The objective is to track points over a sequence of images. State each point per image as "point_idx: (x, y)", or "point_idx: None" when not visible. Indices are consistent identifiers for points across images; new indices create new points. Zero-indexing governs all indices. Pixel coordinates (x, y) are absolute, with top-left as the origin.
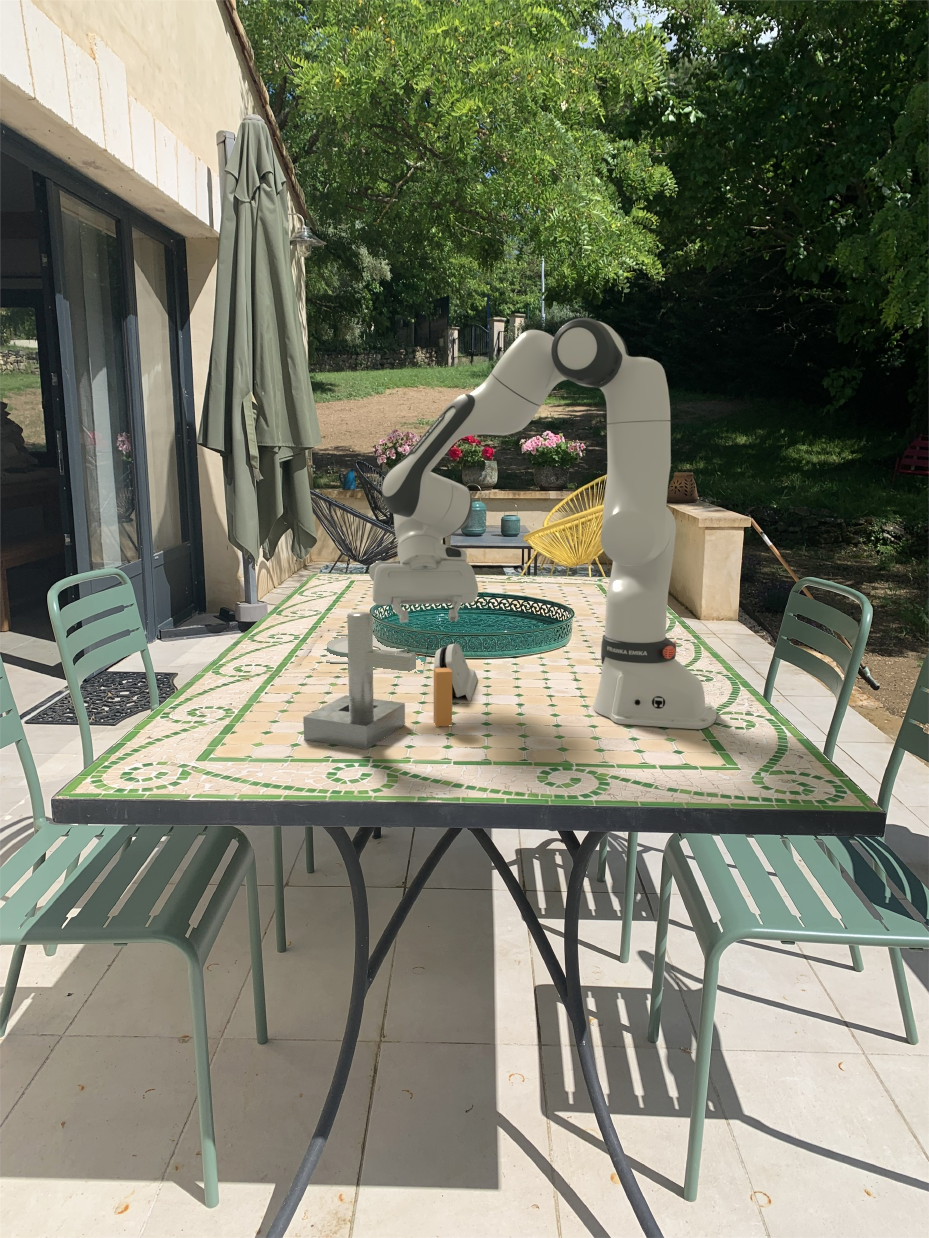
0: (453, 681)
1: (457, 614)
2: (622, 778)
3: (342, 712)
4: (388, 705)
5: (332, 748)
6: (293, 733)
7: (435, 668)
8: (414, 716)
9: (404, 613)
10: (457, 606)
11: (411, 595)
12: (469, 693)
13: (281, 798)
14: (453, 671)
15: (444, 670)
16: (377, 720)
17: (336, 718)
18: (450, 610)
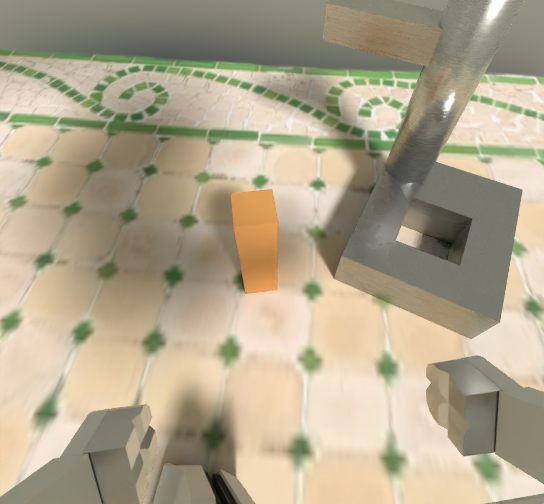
0: (201, 477)
1: (89, 418)
2: (72, 96)
3: (457, 207)
4: (374, 241)
5: None
6: (531, 245)
7: (272, 221)
8: (317, 330)
9: (473, 373)
10: (38, 476)
11: (534, 497)
12: (158, 488)
13: None
14: (193, 488)
15: (249, 203)
16: (380, 174)
17: (456, 180)
18: (124, 437)
